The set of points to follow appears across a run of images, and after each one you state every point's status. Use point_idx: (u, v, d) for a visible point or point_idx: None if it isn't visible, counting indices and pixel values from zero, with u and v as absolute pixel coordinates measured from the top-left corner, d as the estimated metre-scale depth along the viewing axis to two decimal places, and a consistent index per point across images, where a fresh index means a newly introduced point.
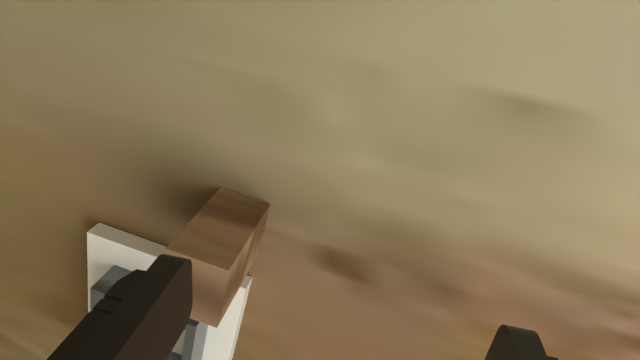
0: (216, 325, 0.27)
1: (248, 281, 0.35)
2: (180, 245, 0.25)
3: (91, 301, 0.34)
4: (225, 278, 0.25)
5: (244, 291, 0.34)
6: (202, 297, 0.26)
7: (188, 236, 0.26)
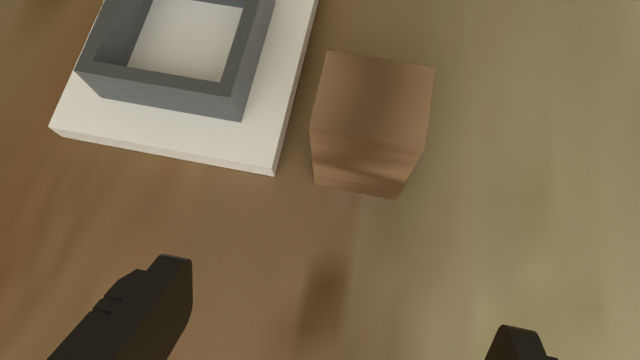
0: (313, 127, 0.18)
1: (273, 171, 0.25)
2: None
3: None
4: (410, 143, 0.18)
5: (266, 166, 0.24)
6: (362, 109, 0.18)
7: None
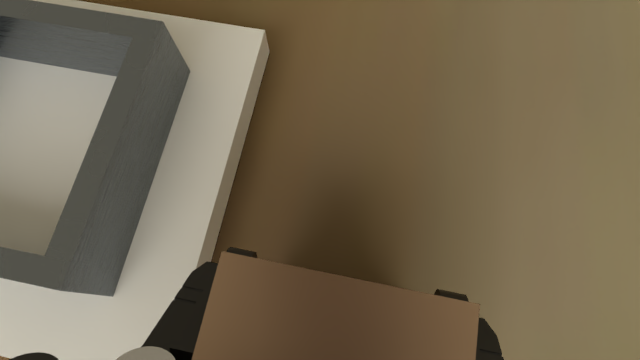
0: None
1: None
2: None
3: (121, 17, 0.14)
4: None
5: None
6: None
7: None
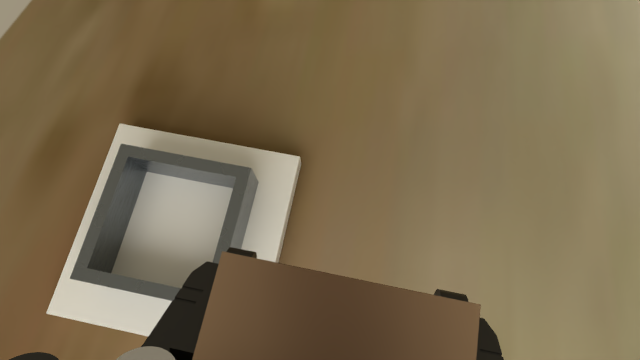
0: None
1: None
2: None
3: (229, 165, 0.27)
4: None
5: None
6: None
7: None
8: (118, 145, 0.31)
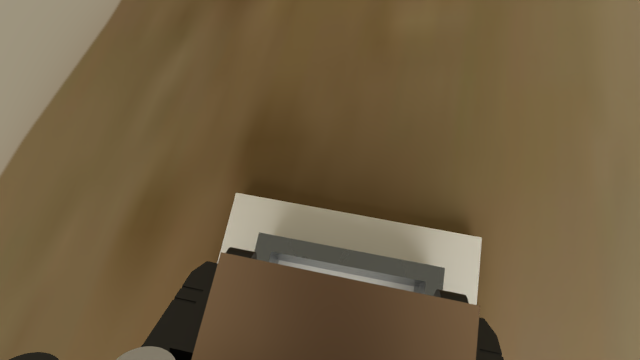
0: None
1: None
2: None
3: (413, 263, 0.20)
4: None
5: None
6: None
7: None
8: (237, 223, 0.24)
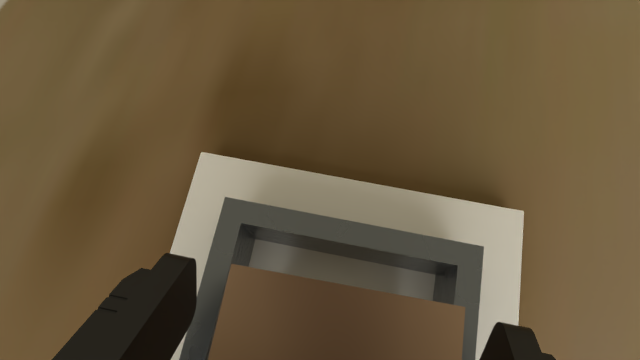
0: None
1: None
2: None
3: (440, 240, 0.14)
4: None
5: None
6: None
7: None
8: (201, 190, 0.18)
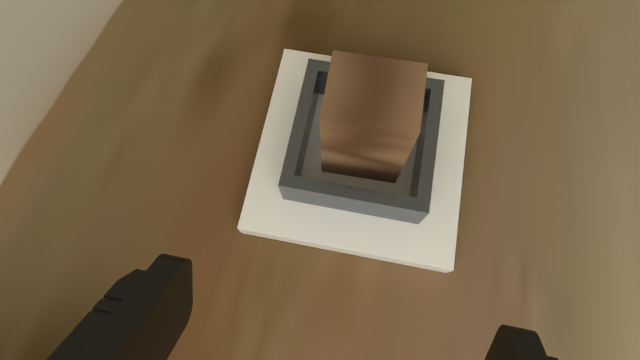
0: (323, 116, 0.21)
1: None
2: None
3: None
4: (407, 129, 0.21)
5: (447, 268, 0.26)
6: (365, 100, 0.21)
7: None
8: (286, 69, 0.31)
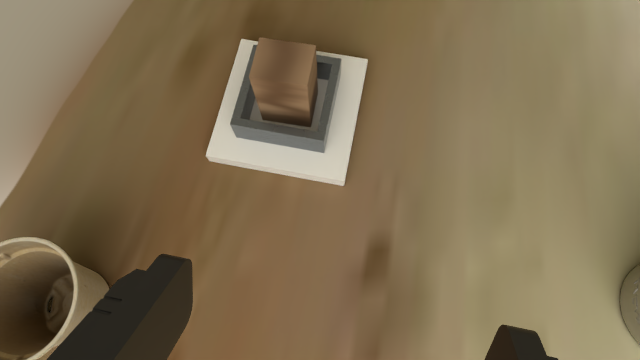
0: (251, 76, 0.35)
1: None
2: (314, 55, 0.37)
3: (326, 57, 0.42)
4: (299, 83, 0.35)
5: (341, 180, 0.41)
6: (276, 67, 0.36)
7: (315, 62, 0.38)
8: (242, 52, 0.45)
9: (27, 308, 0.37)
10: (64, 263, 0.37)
